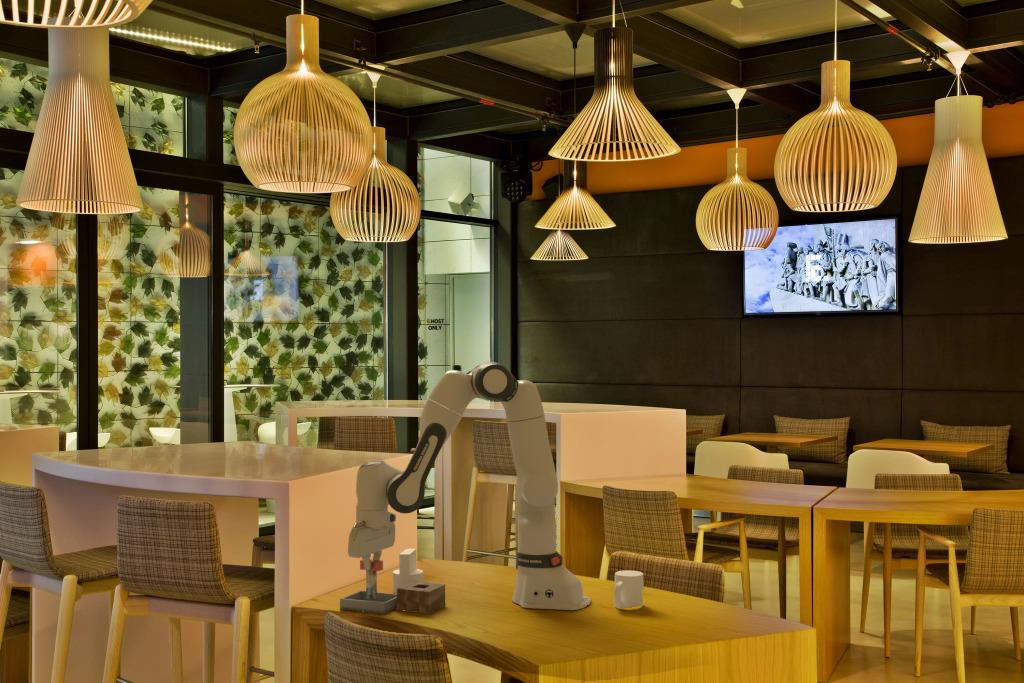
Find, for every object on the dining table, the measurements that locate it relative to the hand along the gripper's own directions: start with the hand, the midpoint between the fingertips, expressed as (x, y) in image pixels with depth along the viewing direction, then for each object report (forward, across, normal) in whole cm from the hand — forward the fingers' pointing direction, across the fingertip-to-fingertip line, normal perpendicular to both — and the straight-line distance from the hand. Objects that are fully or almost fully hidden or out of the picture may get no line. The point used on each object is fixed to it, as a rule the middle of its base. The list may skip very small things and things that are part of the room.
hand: (371, 568), depth 296 cm
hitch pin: (+8, 0, 0) cm, 8 cm away
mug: (+11, +28, -66) cm, 73 cm away
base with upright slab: (+11, +21, 0) cm, 24 cm away
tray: (+11, 0, 0) cm, 11 cm away
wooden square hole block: (+11, +5, -13) cm, 18 cm away
